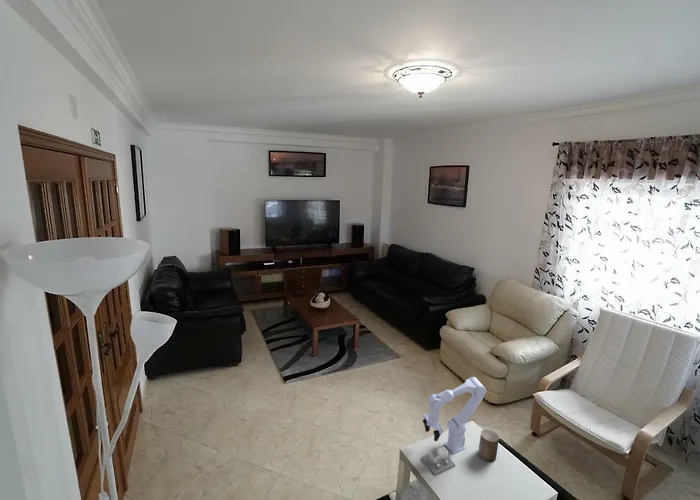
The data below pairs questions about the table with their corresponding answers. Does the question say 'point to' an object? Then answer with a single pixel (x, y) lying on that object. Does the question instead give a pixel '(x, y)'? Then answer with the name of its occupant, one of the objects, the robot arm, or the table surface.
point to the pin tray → (438, 465)
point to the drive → (438, 456)
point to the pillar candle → (488, 445)
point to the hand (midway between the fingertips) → (431, 435)
